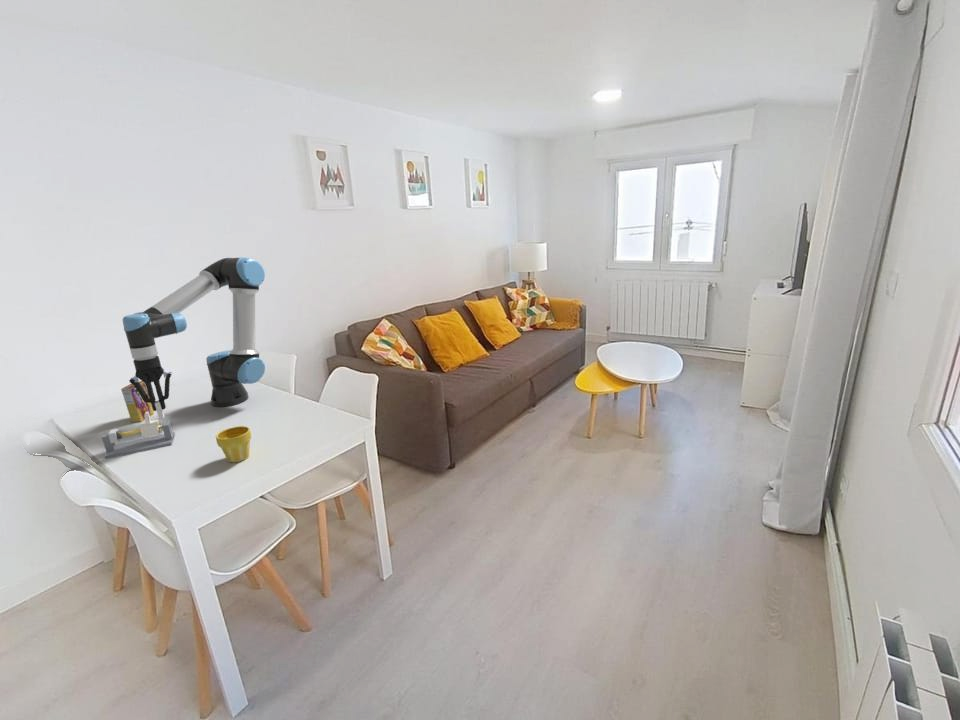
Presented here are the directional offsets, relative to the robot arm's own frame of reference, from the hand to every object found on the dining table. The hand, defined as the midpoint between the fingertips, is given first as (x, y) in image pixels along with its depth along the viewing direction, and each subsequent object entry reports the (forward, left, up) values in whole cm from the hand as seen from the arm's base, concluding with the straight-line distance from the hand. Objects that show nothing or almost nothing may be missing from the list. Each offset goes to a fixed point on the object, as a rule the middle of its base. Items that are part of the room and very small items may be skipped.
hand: (161, 417), depth 170 cm
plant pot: (-31, +22, -10) cm, 39 cm away
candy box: (+21, -28, -10) cm, 36 cm away
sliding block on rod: (+8, +2, -10) cm, 13 cm away
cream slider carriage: (+4, +1, -6) cm, 7 cm away
